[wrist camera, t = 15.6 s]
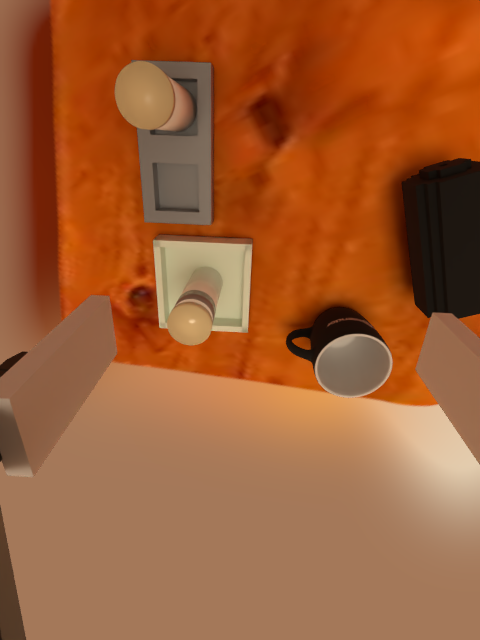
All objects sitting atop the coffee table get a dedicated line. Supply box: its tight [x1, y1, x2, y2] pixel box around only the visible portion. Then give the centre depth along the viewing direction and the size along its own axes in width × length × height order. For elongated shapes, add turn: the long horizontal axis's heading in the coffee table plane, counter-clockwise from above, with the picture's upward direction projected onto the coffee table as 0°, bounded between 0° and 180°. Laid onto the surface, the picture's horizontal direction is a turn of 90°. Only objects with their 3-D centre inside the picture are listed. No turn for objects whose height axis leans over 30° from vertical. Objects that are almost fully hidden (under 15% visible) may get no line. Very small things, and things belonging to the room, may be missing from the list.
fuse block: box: [115, 60, 214, 225], centre depth 36 cm, size 16×8×13 cm, turn 178°
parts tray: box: [153, 234, 253, 333], centre depth 48 cm, size 12×12×3 cm
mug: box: [286, 307, 392, 398], centre depth 47 cm, size 12×9×10 cm
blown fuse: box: [167, 267, 223, 345], centre depth 43 cm, size 5×5×13 cm
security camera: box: [402, 158, 480, 319], centre depth 41 cm, size 7×18×10 cm, turn 17°
